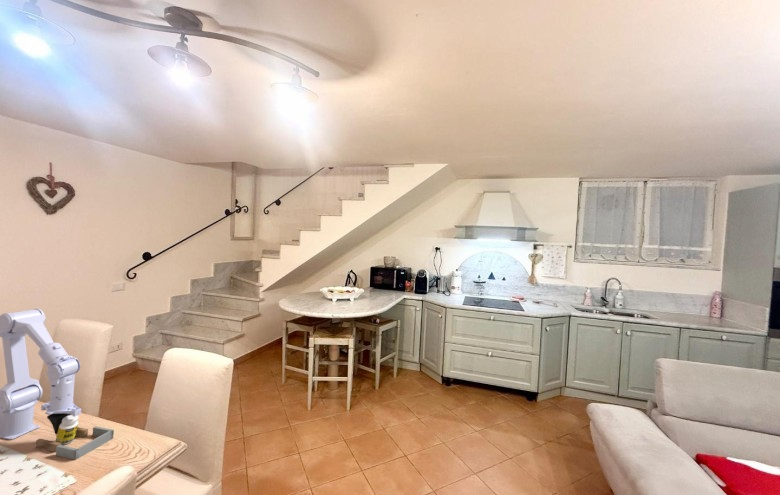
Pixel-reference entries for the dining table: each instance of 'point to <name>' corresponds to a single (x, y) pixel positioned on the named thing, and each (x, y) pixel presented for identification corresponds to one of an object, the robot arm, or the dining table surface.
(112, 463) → the dining table surface
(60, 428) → the supplement bottle
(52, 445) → the parallel wooden rails
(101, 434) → the cradle
